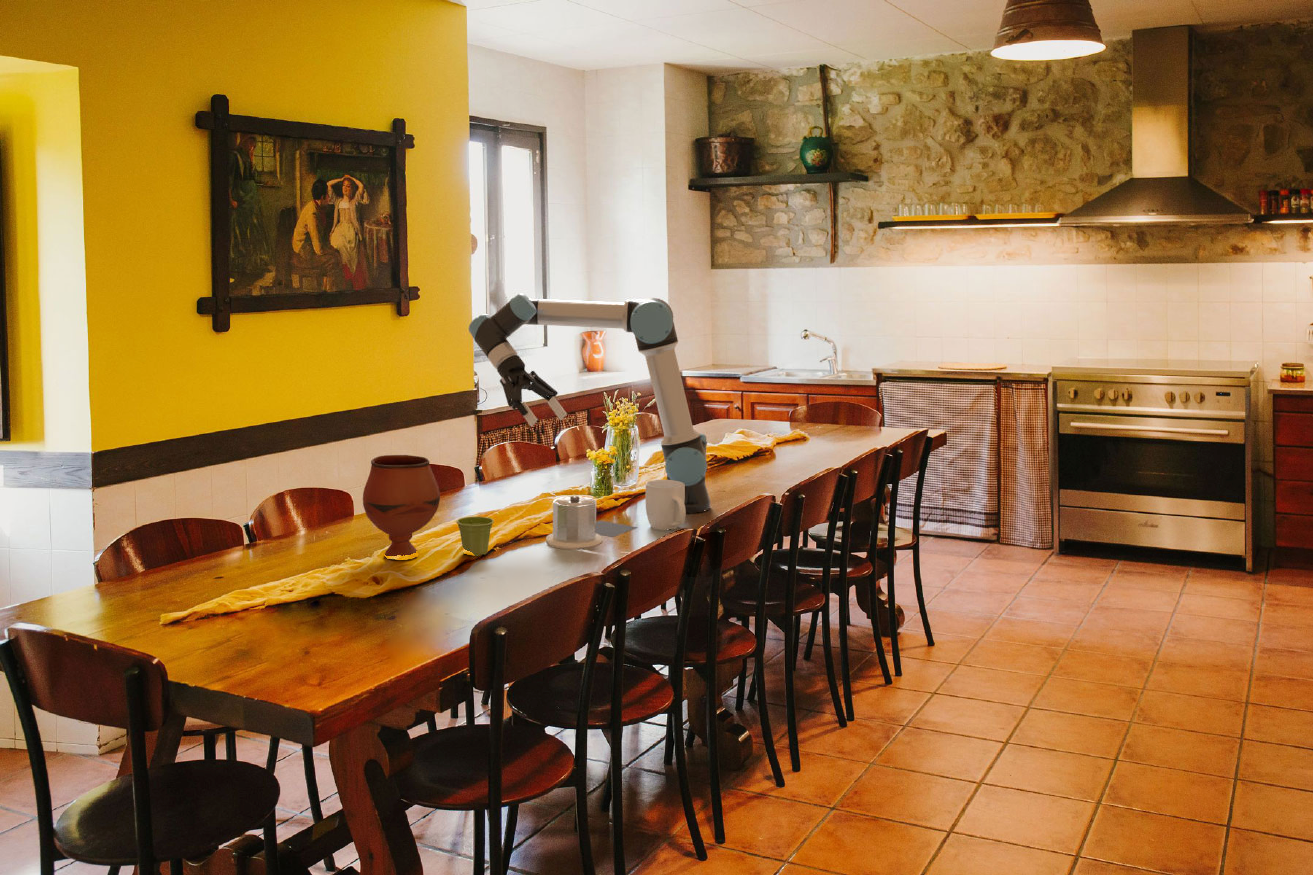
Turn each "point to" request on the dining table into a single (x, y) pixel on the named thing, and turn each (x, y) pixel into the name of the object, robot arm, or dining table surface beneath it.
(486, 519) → the plant pot
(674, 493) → the mug
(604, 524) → the mat
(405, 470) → the goblet
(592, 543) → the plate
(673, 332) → the robot arm
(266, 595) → the dining table surface
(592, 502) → the cover
